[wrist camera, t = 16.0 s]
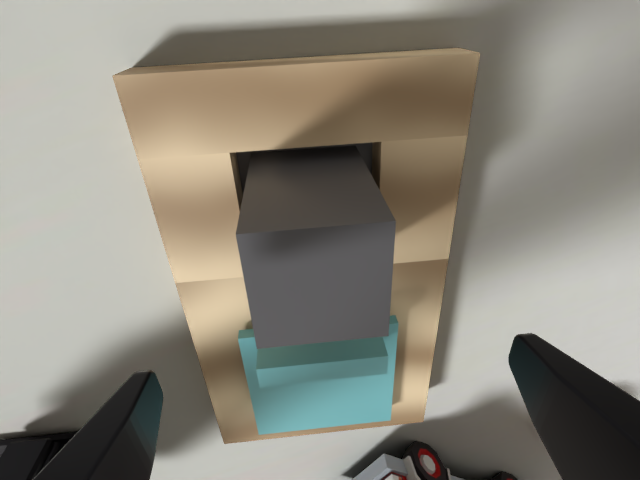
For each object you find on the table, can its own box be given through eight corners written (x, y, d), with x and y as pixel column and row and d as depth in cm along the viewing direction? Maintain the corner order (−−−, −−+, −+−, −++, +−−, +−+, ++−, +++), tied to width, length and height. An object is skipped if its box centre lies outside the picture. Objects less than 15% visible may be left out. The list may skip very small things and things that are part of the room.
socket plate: (414, 395, 27) (423, 421, 26) (227, 415, 27) (224, 443, 25) (458, 47, 16) (480, 52, 14) (131, 67, 15) (112, 75, 13)
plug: (355, 234, 20) (388, 336, 14) (264, 242, 19) (256, 349, 13) (355, 145, 17) (396, 221, 11) (251, 153, 17) (235, 234, 11)
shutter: (388, 411, 24) (399, 452, 22) (259, 425, 24) (257, 469, 21) (395, 315, 20) (409, 354, 18) (238, 330, 20) (233, 371, 17)
